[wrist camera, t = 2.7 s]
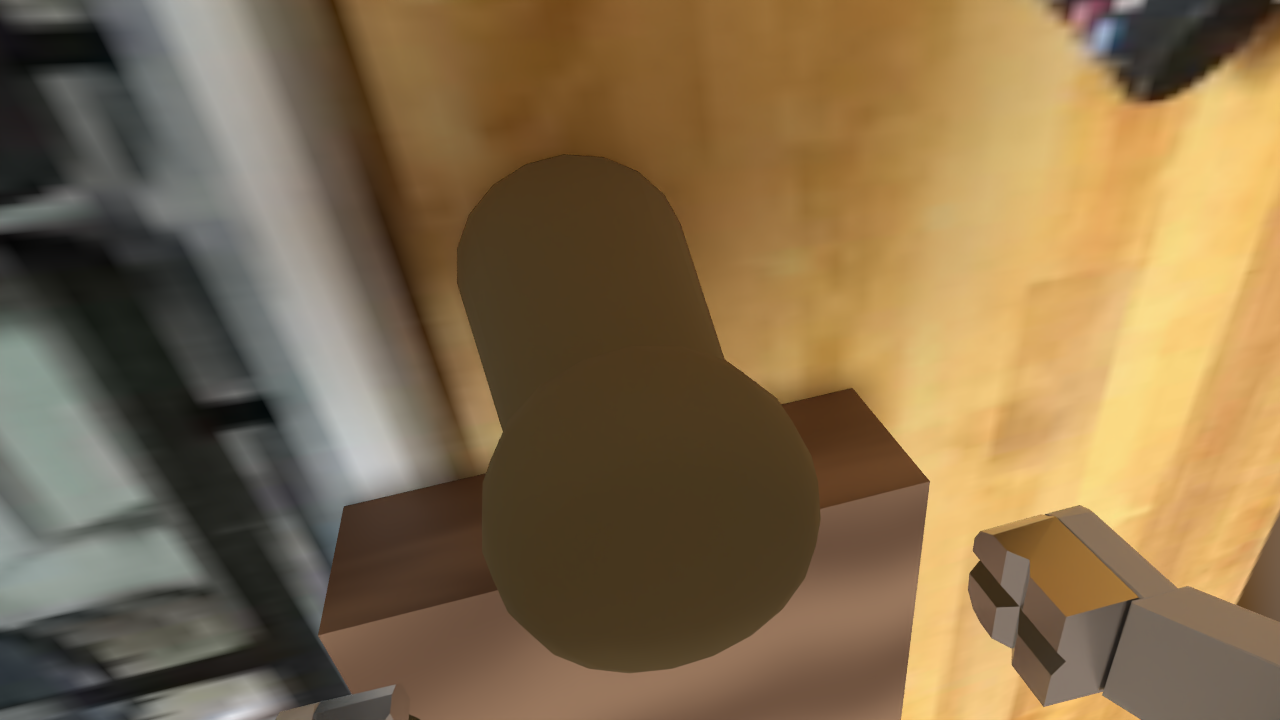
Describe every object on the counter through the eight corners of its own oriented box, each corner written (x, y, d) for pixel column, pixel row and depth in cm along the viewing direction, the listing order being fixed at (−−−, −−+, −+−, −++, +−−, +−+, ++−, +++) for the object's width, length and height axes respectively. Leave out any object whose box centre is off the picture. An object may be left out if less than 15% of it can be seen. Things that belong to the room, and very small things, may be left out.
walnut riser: (345, 497, 22) (318, 635, 18) (846, 381, 24) (929, 481, 19) (477, 776, 30) (479, 913, 26) (836, 676, 32) (892, 789, 28)
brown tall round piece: (436, 166, 17) (403, 459, 8) (685, 143, 18) (920, 380, 9) (475, 381, 20) (485, 770, 11) (685, 352, 21) (857, 688, 12)
